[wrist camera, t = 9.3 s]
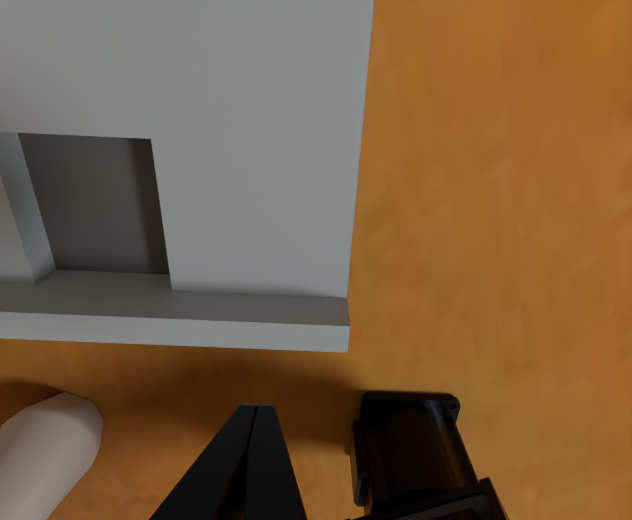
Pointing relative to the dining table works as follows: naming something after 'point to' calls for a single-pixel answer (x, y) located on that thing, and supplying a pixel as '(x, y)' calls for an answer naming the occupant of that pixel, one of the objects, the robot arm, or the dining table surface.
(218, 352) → the dining table surface
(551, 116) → the dining table surface
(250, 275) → the box
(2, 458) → the salt shaker
